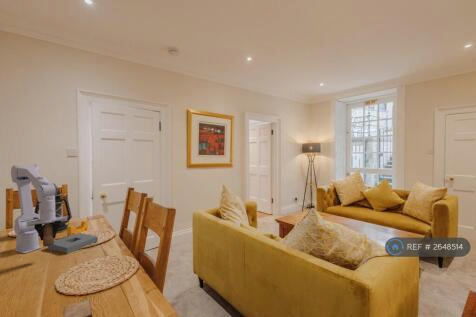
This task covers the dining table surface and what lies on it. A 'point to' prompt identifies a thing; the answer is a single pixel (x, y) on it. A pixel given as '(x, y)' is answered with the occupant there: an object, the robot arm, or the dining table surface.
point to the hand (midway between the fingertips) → (48, 238)
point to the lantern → (58, 211)
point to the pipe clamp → (79, 229)
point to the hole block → (73, 243)
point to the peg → (48, 235)
